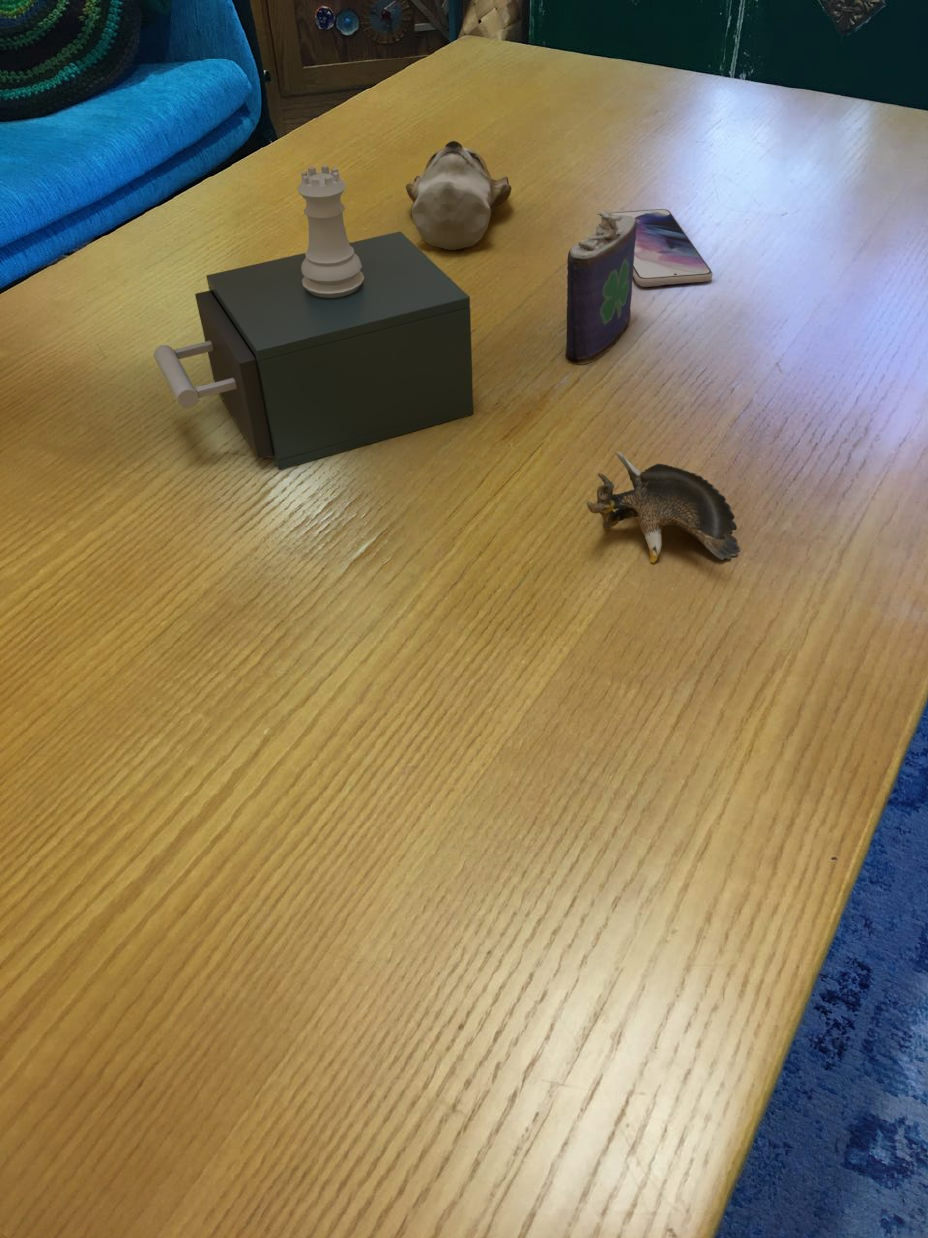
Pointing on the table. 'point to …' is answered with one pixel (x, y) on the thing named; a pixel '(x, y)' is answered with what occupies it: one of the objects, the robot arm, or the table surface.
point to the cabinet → (353, 349)
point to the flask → (600, 288)
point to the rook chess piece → (327, 237)
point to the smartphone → (664, 251)
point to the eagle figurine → (670, 507)
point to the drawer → (221, 373)
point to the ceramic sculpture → (455, 197)
